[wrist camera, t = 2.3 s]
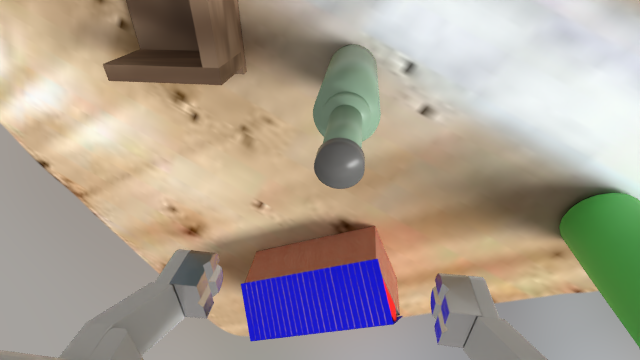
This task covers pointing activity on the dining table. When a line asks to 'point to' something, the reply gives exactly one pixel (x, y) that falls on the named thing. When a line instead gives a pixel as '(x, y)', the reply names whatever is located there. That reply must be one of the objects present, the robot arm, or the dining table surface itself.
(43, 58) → the dining table surface
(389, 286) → the brown and blue block
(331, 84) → the slim bottle
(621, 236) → the bottle
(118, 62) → the u rest
